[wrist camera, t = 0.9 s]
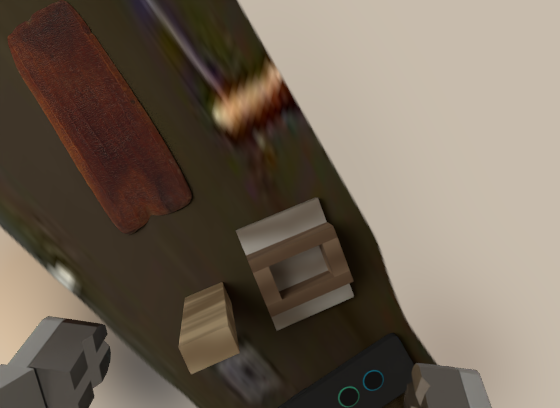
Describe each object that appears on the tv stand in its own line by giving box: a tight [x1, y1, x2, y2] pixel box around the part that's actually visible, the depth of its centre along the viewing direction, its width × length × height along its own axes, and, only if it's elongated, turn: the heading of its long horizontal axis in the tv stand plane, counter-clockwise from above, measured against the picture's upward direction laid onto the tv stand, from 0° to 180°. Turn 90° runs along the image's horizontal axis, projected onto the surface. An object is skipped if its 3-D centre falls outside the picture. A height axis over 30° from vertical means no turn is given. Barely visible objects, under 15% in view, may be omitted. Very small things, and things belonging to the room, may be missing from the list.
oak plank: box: [179, 282, 240, 374], centre depth 49 cm, size 3×5×14 cm, turn 111°
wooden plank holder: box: [236, 198, 354, 330], centre depth 55 cm, size 14×11×4 cm
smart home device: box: [278, 333, 414, 408], centre depth 61 cm, size 8×2×20 cm
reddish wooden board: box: [8, 0, 192, 234], centre depth 51 cm, size 27×10×2 cm, turn 29°
